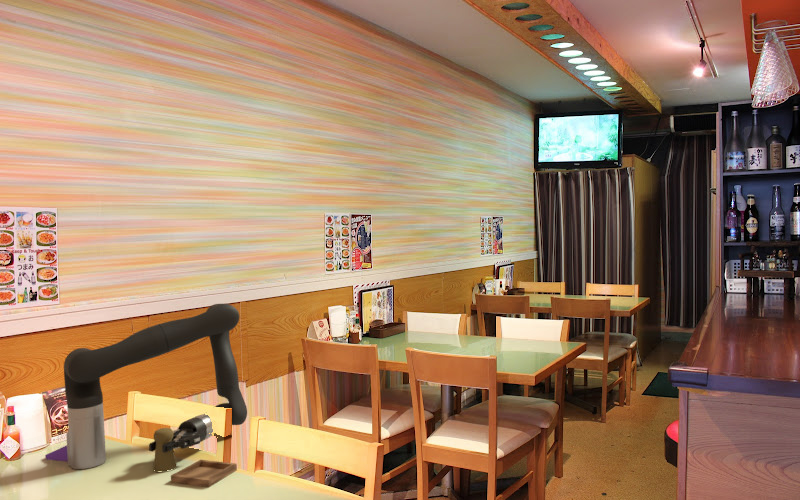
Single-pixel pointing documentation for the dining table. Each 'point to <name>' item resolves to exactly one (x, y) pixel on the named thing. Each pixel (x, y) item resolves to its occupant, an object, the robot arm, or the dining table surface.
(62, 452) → the bracket
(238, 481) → the dining table surface
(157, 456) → the olive pepper mill
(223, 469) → the tray
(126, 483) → the dining table surface
